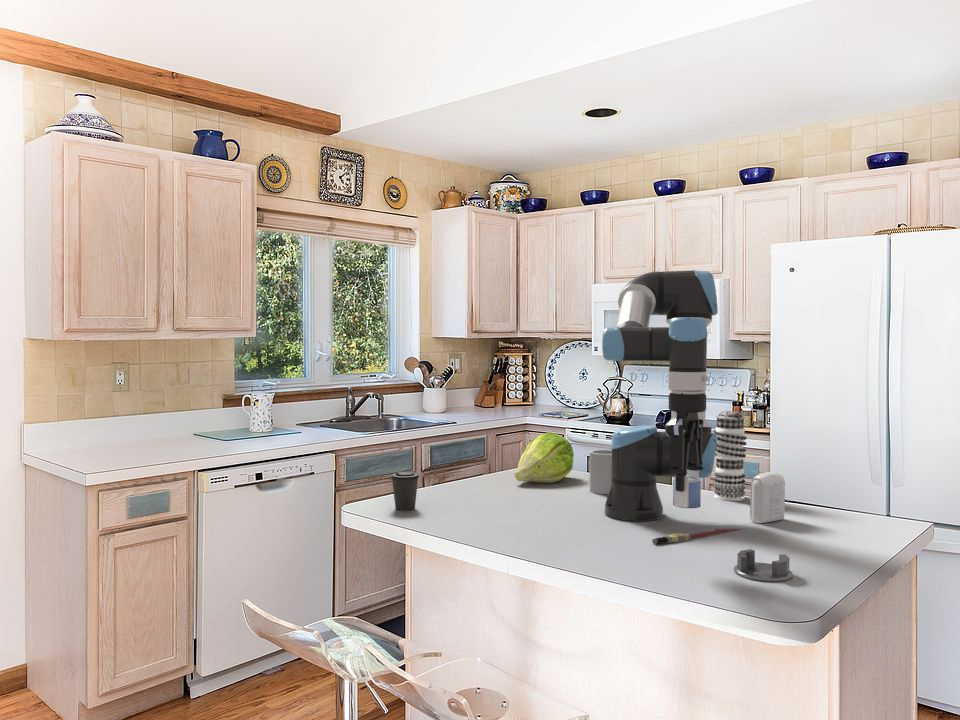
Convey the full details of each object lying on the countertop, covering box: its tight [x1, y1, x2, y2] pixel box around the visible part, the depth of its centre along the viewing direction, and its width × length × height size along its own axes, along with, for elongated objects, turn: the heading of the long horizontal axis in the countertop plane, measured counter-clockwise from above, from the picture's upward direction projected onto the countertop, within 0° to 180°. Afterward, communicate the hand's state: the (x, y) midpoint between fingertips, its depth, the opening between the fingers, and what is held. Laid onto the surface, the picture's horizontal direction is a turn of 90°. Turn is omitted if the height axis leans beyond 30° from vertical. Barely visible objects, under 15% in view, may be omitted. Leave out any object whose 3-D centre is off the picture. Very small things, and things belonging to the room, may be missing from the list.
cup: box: [588, 449, 612, 495], centre depth 232 cm, size 9×9×12 cm
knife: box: [652, 528, 742, 545], centre depth 183 cm, size 29×2×5 cm
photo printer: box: [749, 471, 786, 524], centre depth 196 cm, size 10×4×12 cm, turn 123°
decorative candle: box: [713, 410, 748, 502], centre depth 223 cm, size 9×9×25 cm
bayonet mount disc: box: [733, 548, 794, 583], centre depth 154 cm, size 11×11×4 cm
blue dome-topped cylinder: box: [672, 478, 702, 509], centre depth 159 cm, size 6×6×5 cm
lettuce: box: [514, 431, 575, 484], centre depth 249 cm, size 15×25×16 cm
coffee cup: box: [390, 470, 421, 512], centre depth 210 cm, size 8×8×10 cm
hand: (686, 503), depth 159 cm, fingers closed on blue dome-topped cylinder, 5 cm apart
